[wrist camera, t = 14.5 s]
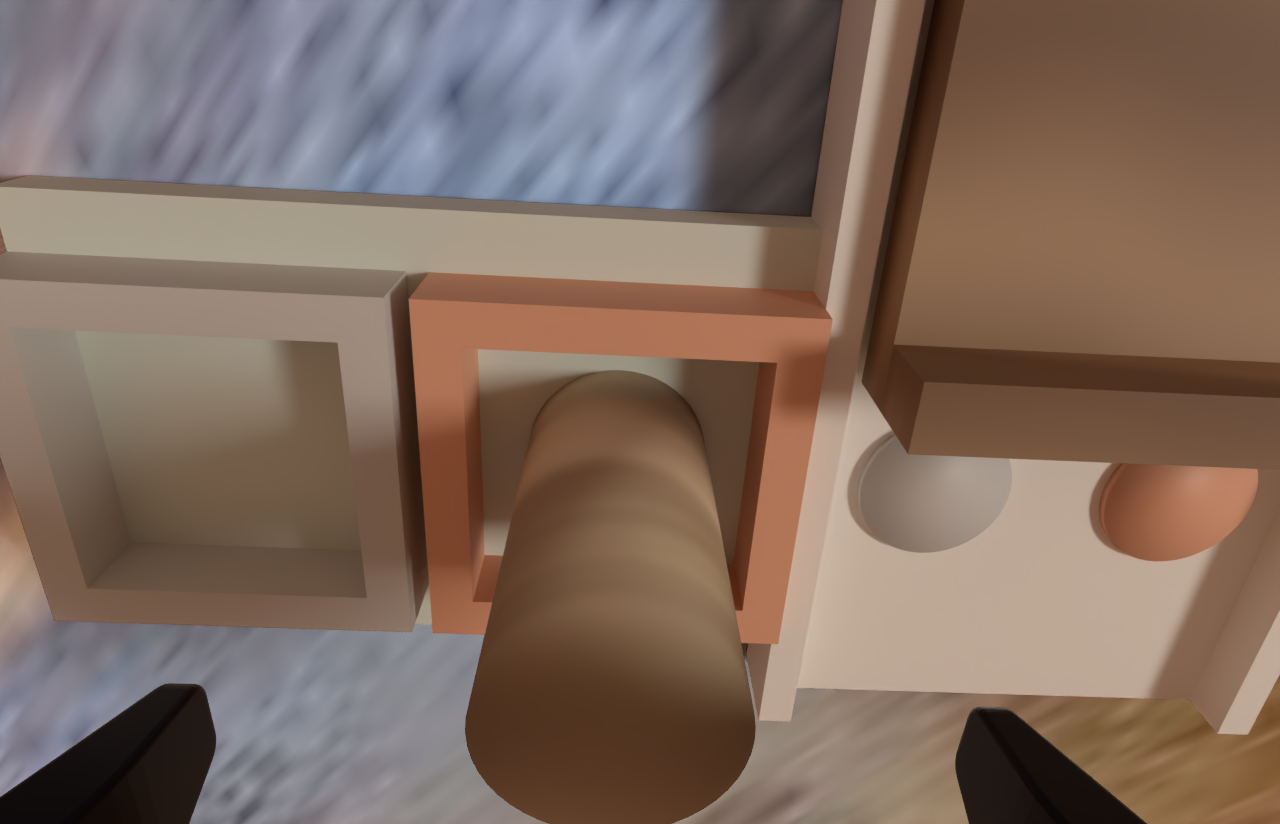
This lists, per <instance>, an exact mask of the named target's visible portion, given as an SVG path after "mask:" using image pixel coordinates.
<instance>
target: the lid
mask: <svg viewBox="0 0 1280 824" xmlns="http://www.w3.org/2000/svg"><path fill="white" fill-rule="evenodd" d="M862 384H863V386H864V387H865V389H866V390H867V392H868V393H869V395H870V396H871V398H872V399H873V401H874V403H875V404H876V406H877V407H878V409H879V410H880V412H881V413H882V415H883V417H884V418H885V420H886V421H887V423H888V424H889V426H890V427H891V429H892V430H893V432H894V434H895V435H896V437H897V438H898V440H899V441H900V443H901V444H902V446H903V447H904V449H905V451H906V452H907V454H911V455H935V456H959V457H983V458H1007V459H1031V460H1055V461H1079V462H1103V463H1127V464H1151V465H1174V466H1198V467H1222V468H1246V469H1270V470H1280V0H934V6H933V11H932V16H931V21H930V26H929V32H928V37H927V42H926V47H925V53H924V58H923V63H922V68H921V73H920V79H919V84H918V89H917V94H916V100H915V105H914V110H913V115H912V120H911V126H910V131H909V136H908V141H907V147H906V152H905V157H904V162H903V167H902V173H901V178H900V183H899V188H898V194H897V199H896V204H895V209H894V214H893V220H892V225H891V230H890V235H889V241H888V246H887V251H886V256H885V261H884V267H883V272H882V277H881V282H880V288H879V293H878V298H877V303H876V308H875V314H874V319H873V324H872V329H871V335H870V340H869V345H868V350H867V356H866V361H865V366H864V371H863V376H862Z"/></svg>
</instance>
